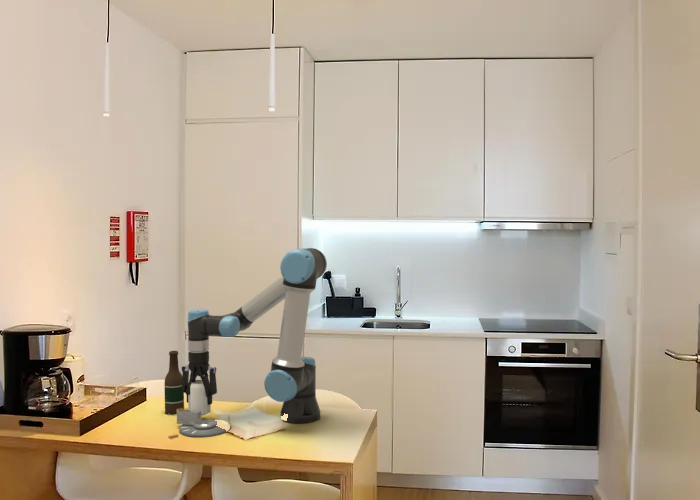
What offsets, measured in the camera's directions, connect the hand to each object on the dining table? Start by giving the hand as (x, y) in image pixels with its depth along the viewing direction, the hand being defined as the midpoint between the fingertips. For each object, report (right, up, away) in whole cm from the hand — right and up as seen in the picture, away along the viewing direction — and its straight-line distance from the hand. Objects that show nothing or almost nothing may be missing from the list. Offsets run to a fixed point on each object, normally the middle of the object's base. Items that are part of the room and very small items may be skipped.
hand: (199, 412), depth 234 cm
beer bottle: (-12, -3, +11) cm, 16 cm away
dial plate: (+5, -3, -11) cm, 12 cm away
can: (0, -1, 0) cm, 1 cm away
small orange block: (-4, -4, -20) cm, 20 cm away
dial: (+1, -2, -10) cm, 10 cm away
